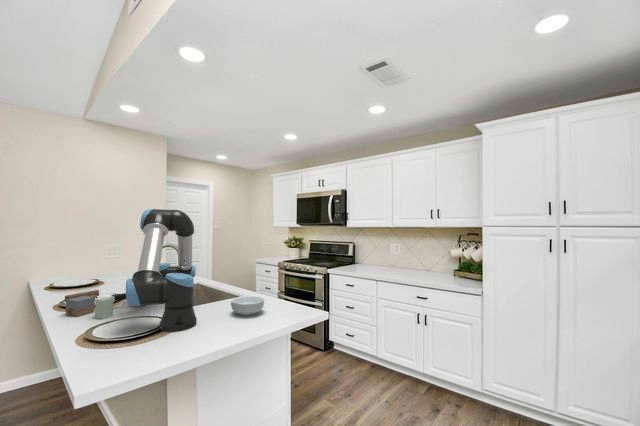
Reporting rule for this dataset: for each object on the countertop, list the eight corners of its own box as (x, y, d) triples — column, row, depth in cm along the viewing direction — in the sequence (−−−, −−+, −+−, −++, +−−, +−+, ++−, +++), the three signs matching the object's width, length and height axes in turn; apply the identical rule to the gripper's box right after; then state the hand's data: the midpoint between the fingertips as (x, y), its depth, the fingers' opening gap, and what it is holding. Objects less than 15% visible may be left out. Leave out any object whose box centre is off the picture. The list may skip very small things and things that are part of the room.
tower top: (94, 305, 147) (94, 297, 147) (77, 309, 139) (78, 301, 139) (82, 303, 149) (83, 295, 149) (65, 308, 141) (66, 299, 141)
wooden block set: (62, 294, 161) (96, 287, 178) (62, 304, 161) (96, 296, 178) (82, 297, 155) (115, 290, 172) (81, 307, 155) (115, 299, 172)
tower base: (94, 312, 147) (94, 305, 147) (77, 317, 139) (77, 309, 139) (82, 311, 149) (83, 303, 149) (65, 316, 141) (65, 307, 141)
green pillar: (112, 316, 141) (113, 298, 141) (102, 319, 136) (103, 300, 137) (105, 315, 143) (105, 297, 143) (94, 318, 138) (95, 299, 138)
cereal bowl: (270, 312, 152) (270, 298, 152) (247, 321, 138) (247, 306, 138) (247, 306, 161) (248, 294, 161) (223, 314, 147) (224, 300, 147)
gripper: (165, 302, 160) (129, 313, 140) (131, 297, 167) (93, 308, 147) (165, 288, 160) (130, 297, 140) (131, 284, 168) (93, 293, 147)
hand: (111, 303), depth 143 cm, fingers open, 13 cm apart
